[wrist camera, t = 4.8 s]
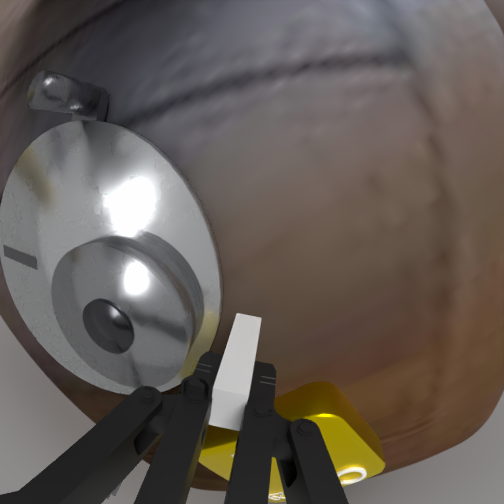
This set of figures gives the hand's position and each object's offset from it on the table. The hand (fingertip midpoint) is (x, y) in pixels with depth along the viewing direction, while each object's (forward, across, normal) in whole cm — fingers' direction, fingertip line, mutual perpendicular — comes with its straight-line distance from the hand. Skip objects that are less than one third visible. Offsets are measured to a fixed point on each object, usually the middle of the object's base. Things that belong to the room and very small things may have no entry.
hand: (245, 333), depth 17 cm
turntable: (+3, -14, +1) cm, 14 cm away
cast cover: (+1, -8, 0) cm, 8 cm away
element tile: (+4, +7, -15) cm, 17 cm away
